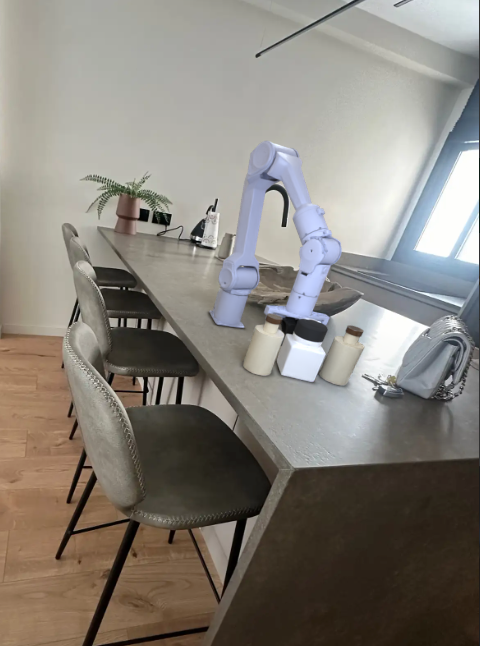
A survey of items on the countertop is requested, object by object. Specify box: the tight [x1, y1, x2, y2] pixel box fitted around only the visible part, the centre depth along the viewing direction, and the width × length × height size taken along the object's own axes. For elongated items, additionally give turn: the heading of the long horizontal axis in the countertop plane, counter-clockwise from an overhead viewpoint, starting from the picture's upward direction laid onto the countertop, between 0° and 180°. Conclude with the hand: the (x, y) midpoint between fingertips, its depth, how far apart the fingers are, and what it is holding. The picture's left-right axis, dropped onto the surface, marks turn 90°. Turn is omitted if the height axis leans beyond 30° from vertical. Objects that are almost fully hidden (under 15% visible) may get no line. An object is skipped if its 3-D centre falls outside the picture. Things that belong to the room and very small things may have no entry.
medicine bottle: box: [276, 318, 329, 383], centre depth 79 cm, size 7×7×12 cm
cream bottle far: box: [318, 324, 365, 386], centre depth 80 cm, size 6×6×12 cm
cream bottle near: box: [242, 313, 284, 377], centre depth 77 cm, size 6×6×12 cm
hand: (284, 347), depth 87 cm, fingers closed
